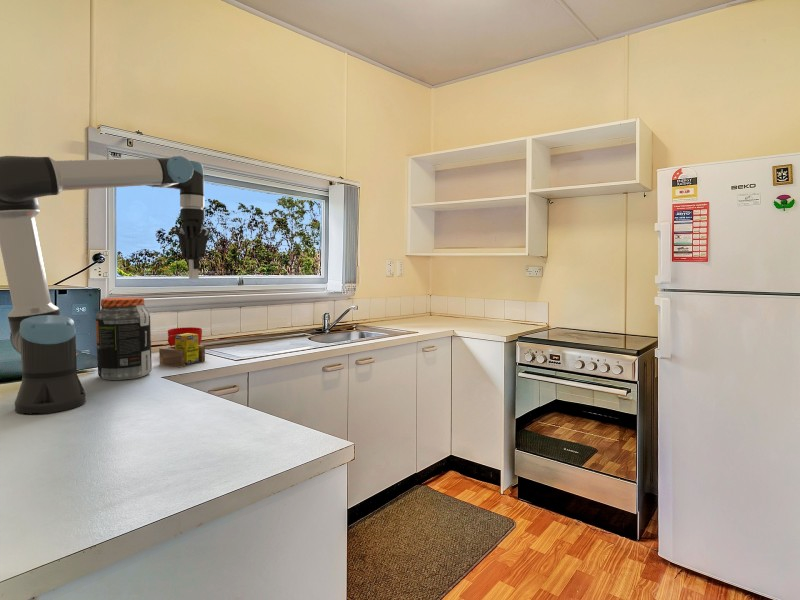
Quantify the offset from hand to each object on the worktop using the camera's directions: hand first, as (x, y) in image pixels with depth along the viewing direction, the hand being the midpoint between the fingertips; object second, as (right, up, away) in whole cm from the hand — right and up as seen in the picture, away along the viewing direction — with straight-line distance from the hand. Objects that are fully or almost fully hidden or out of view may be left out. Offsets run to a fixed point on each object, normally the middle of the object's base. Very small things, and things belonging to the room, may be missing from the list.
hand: (193, 278), depth 165 cm
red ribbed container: (-19, -30, +34) cm, 49 cm away
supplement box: (-10, -31, +17) cm, 37 cm away
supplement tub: (-21, -33, -3) cm, 39 cm away
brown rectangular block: (-12, -31, +18) cm, 37 cm away
